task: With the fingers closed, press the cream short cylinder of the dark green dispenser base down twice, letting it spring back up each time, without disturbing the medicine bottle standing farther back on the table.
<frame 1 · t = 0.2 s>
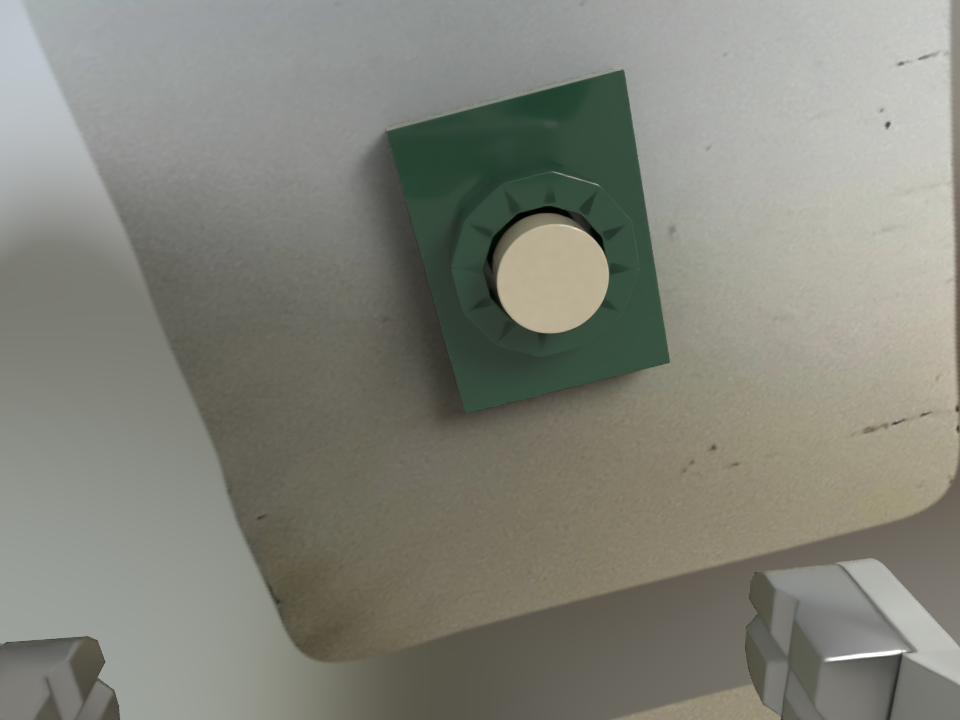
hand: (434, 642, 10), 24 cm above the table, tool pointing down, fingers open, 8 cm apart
cream short cylinder: (548, 272, 28), point 5 cm above the table, slide at 0.1 cm
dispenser: (531, 243, 32), on the table
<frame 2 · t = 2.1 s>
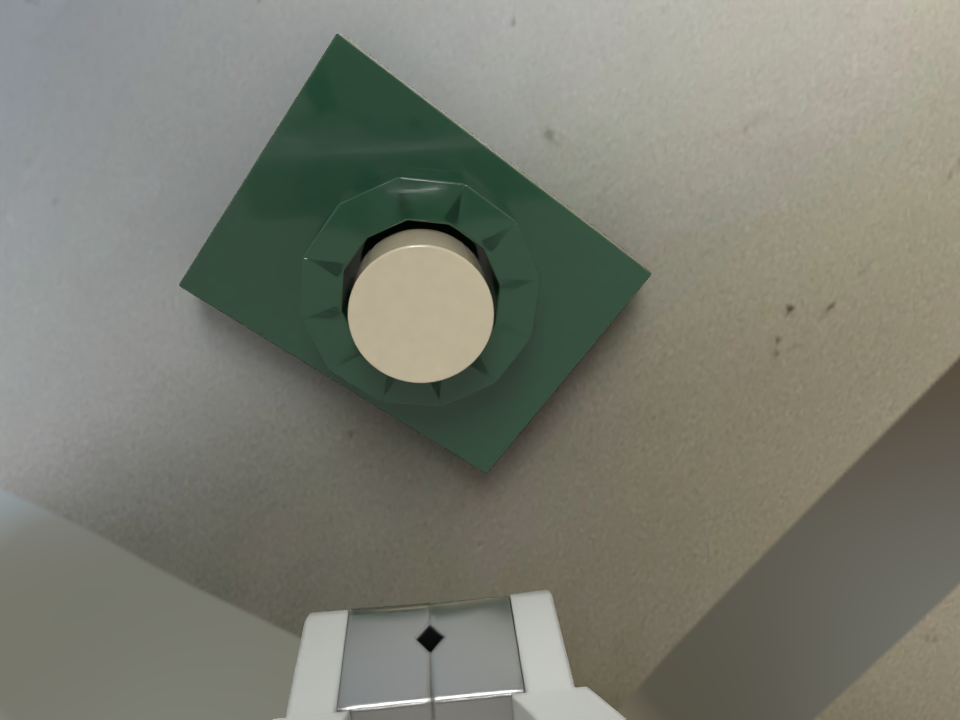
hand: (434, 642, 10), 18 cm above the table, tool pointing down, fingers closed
cream short cylinder: (421, 305, 22), point 5 cm above the table, slide at 0.1 cm
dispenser: (420, 263, 26), on the table
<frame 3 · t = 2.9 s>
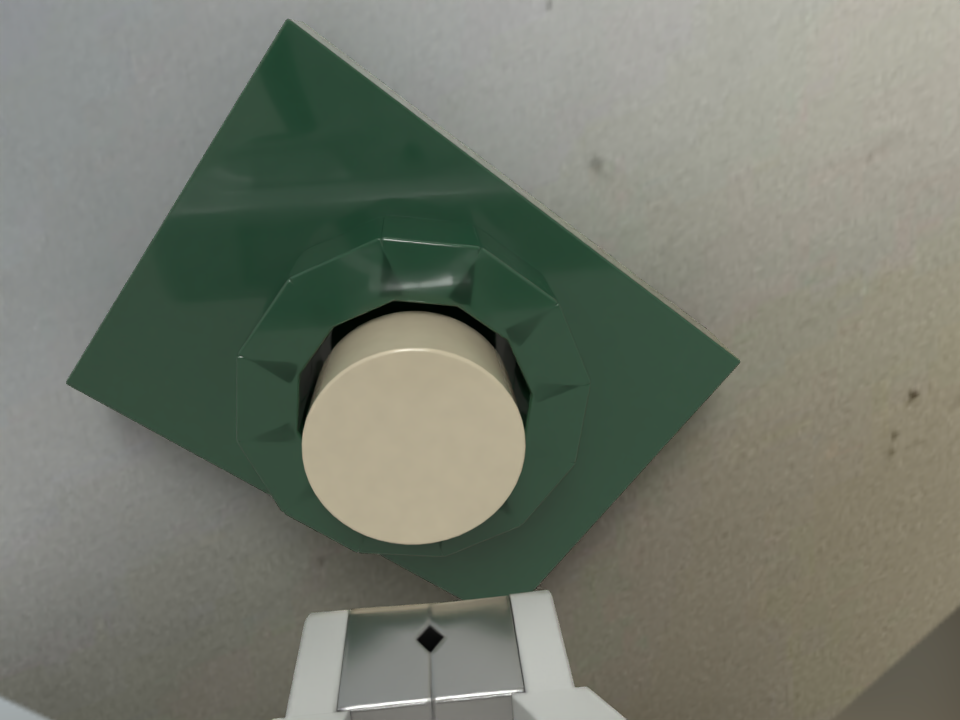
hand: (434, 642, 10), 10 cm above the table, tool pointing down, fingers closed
cream short cylinder: (414, 426, 15), point 5 cm above the table, slide at 0.1 cm
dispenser: (414, 340, 19), on the table
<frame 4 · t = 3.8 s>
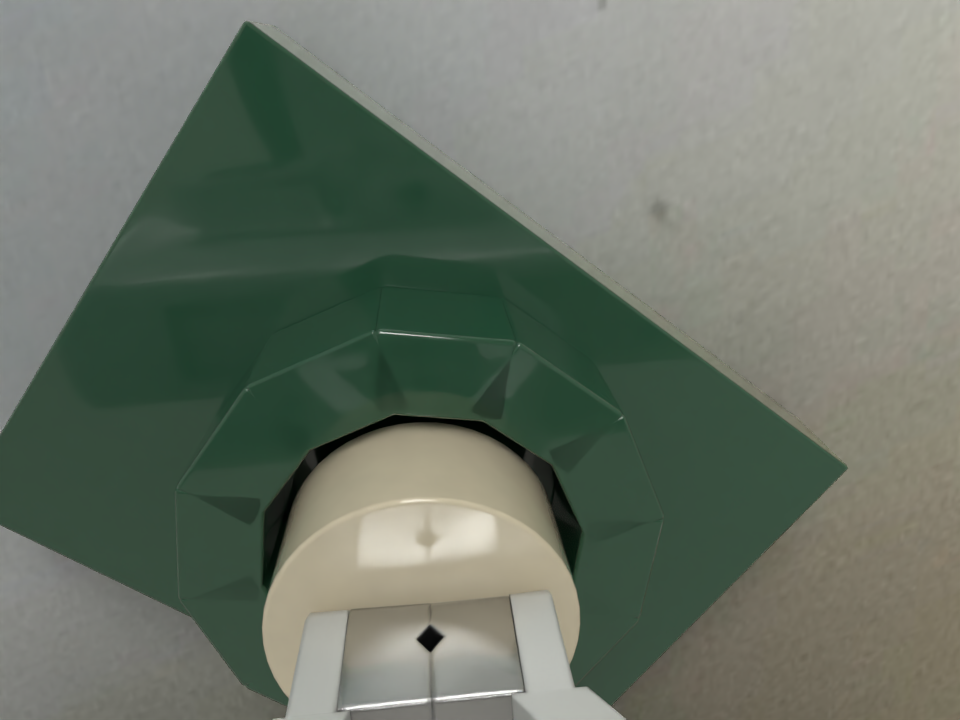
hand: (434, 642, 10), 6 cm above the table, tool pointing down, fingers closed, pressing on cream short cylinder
cream short cylinder: (423, 583, 10), point 5 cm above the table, slide at 0.0 cm, touching gripper
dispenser: (421, 431, 15), on the table
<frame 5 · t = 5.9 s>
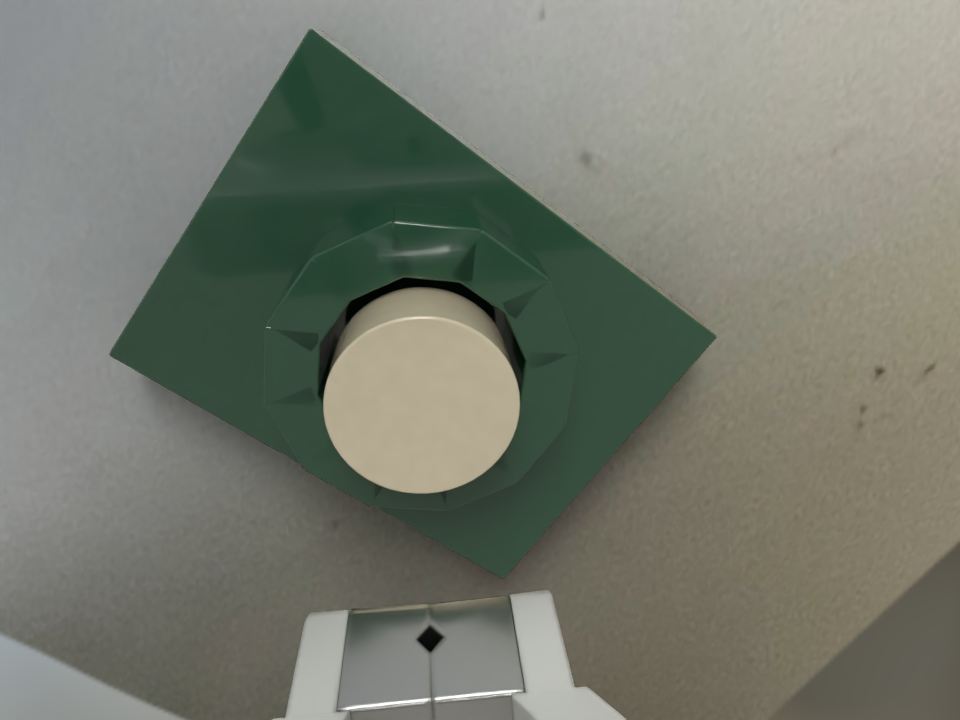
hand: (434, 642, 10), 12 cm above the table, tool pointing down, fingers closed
cream short cylinder: (422, 389, 16), point 5 cm above the table, slide at 0.1 cm
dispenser: (420, 319, 21), on the table
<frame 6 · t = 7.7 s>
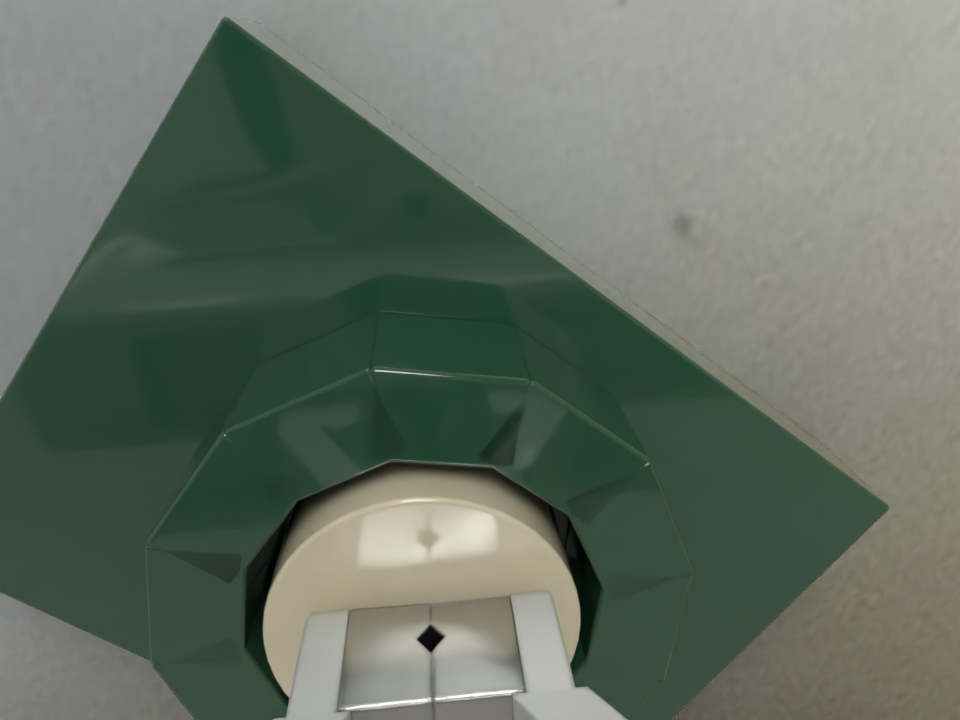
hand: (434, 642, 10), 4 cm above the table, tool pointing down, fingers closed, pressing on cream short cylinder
cream short cylinder: (423, 583, 10), point 3 cm above the table, slide at -1.3 cm, touching gripper
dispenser: (422, 464, 14), on the table
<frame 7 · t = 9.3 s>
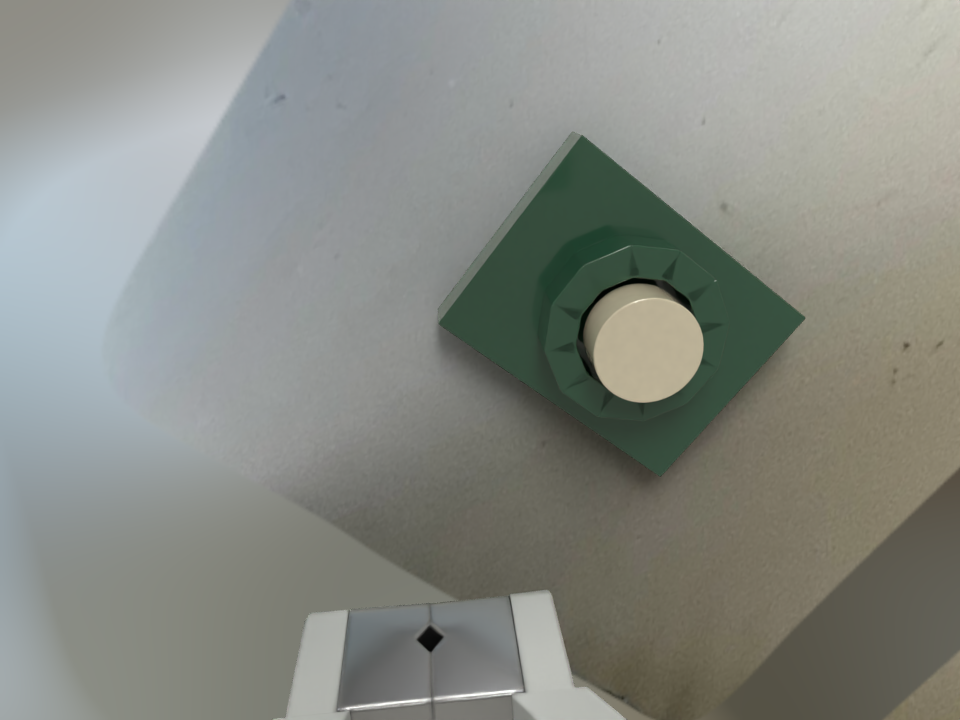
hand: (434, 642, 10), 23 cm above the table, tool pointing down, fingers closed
cream short cylinder: (641, 342, 28), point 5 cm above the table, slide at 0.1 cm
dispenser: (613, 306, 32), on the table
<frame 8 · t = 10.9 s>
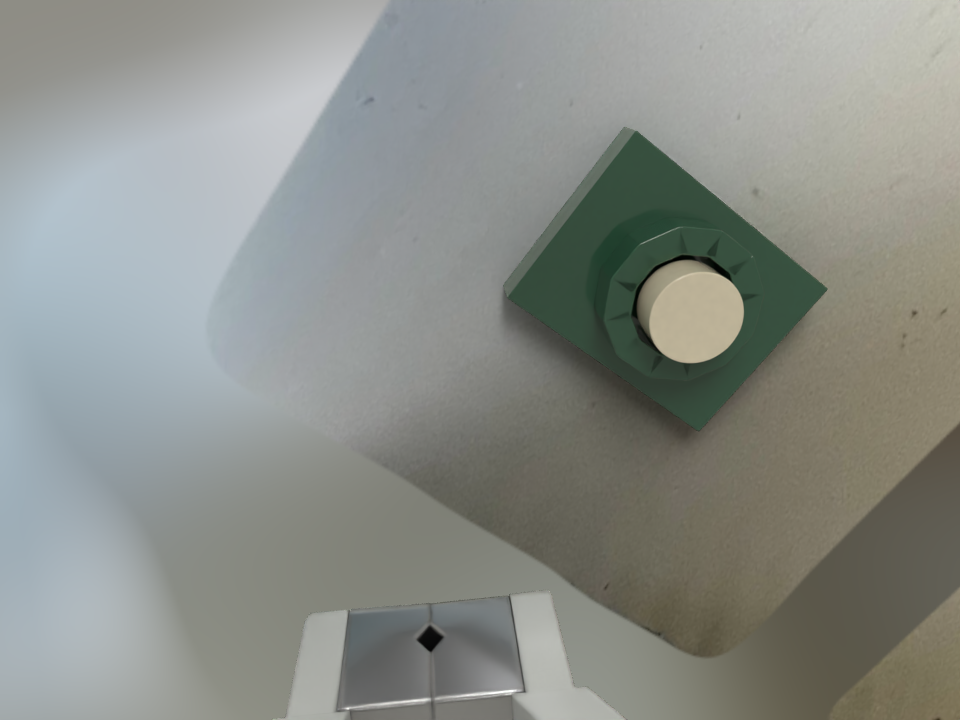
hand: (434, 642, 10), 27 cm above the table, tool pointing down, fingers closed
cream short cylinder: (688, 311, 32), point 5 cm above the table, slide at 0.1 cm
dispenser: (657, 281, 37), on the table
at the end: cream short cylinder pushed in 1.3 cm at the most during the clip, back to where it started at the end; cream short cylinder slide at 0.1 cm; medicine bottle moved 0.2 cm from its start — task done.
